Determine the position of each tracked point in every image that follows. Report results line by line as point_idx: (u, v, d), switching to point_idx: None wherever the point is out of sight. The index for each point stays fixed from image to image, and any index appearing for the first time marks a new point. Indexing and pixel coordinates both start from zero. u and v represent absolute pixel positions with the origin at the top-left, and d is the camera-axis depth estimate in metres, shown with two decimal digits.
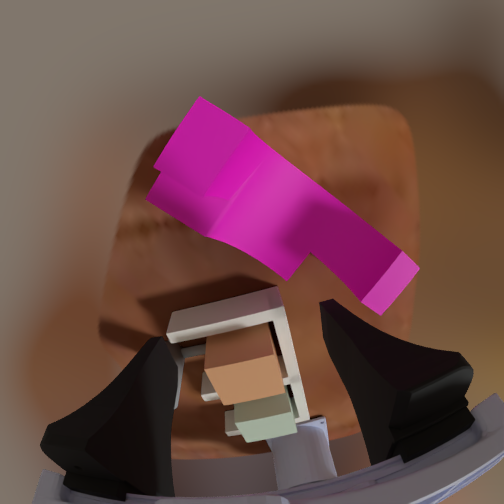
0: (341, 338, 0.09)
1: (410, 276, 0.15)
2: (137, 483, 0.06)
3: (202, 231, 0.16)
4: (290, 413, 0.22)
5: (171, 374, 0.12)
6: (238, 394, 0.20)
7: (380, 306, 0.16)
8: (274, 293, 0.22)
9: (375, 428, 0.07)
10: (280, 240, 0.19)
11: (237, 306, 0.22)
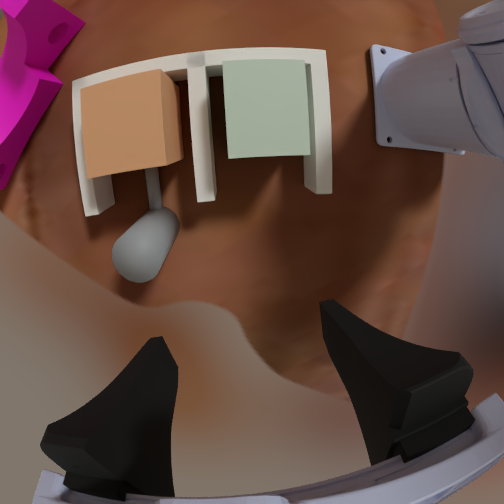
0: (341, 338, 0.09)
1: None
2: (137, 483, 0.06)
3: None
4: (227, 62, 0.11)
5: (171, 374, 0.12)
6: (143, 138, 0.12)
7: None
8: None
9: (375, 428, 0.07)
10: (18, 90, 0.12)
11: None
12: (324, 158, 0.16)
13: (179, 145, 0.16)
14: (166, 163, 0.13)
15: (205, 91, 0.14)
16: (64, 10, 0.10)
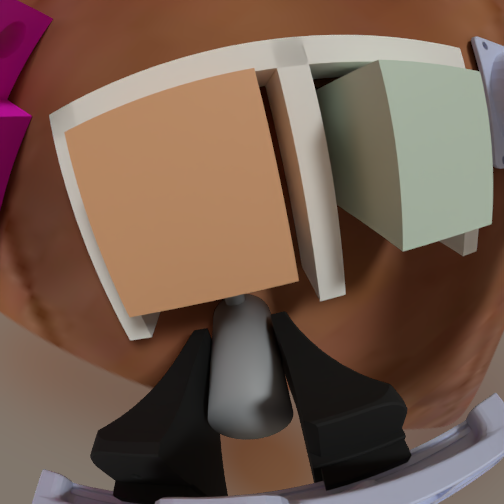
0: (283, 354, 0.10)
1: None
2: (201, 485, 0.06)
3: None
4: (388, 63, 0.05)
5: None
6: (242, 234, 0.06)
7: None
8: None
9: (308, 449, 0.07)
10: None
11: None
12: None
13: None
14: (296, 276, 0.07)
15: (318, 112, 0.08)
16: (13, 1, 0.04)
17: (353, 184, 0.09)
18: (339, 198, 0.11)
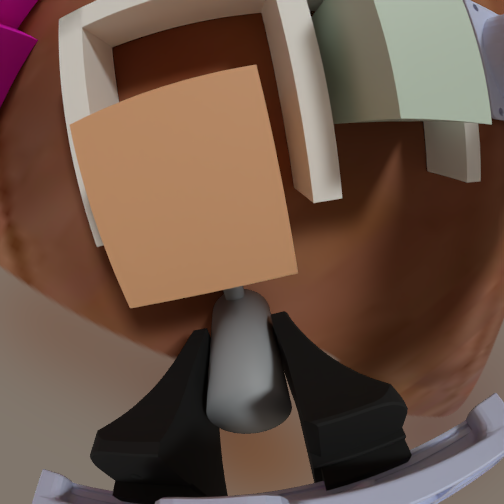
0: (283, 353, 0.10)
1: None
2: (200, 485, 0.06)
3: None
4: None
5: None
6: (242, 225, 0.06)
7: None
8: None
9: (308, 449, 0.07)
10: None
11: None
12: (473, 131, 0.08)
13: None
14: (295, 268, 0.07)
15: (308, 14, 0.07)
16: None
17: (346, 87, 0.08)
18: (333, 114, 0.10)
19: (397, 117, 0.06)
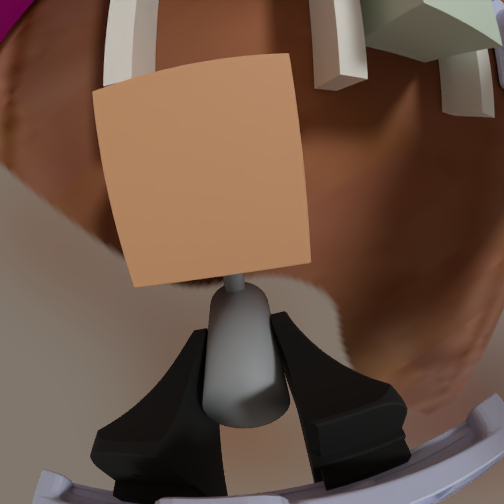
0: (283, 354, 0.10)
1: None
2: (200, 485, 0.06)
3: None
4: None
5: None
6: (261, 209, 0.06)
7: None
8: None
9: (308, 449, 0.07)
10: None
11: None
12: (486, 71, 0.07)
13: None
14: (308, 257, 0.07)
15: None
16: None
17: (373, 3, 0.07)
18: None
19: (420, 3, 0.05)
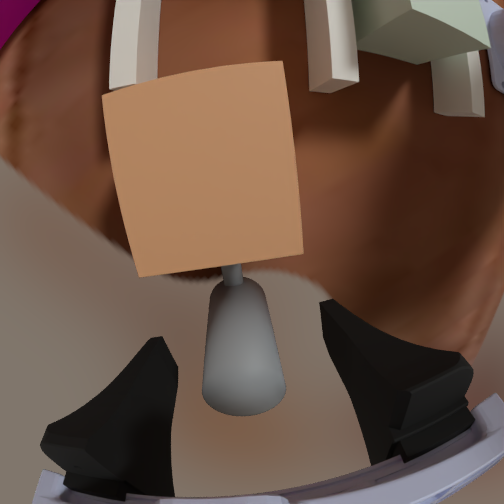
0: (341, 338, 0.09)
1: None
2: (137, 483, 0.06)
3: None
4: None
5: (171, 374, 0.12)
6: (257, 204, 0.07)
7: None
8: None
9: (375, 428, 0.07)
10: None
11: None
12: (476, 72, 0.08)
13: None
14: (301, 249, 0.08)
15: None
16: None
17: (366, 9, 0.07)
18: None
19: (409, 9, 0.05)
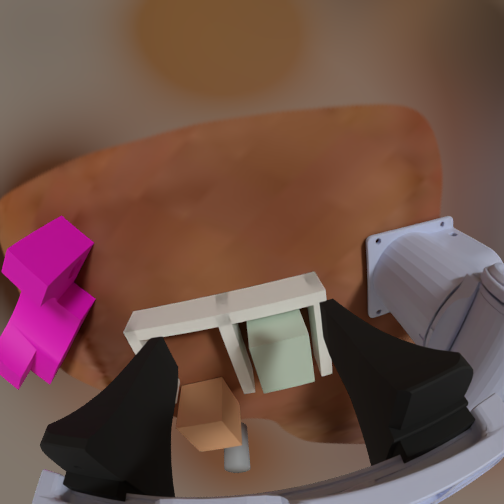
0: (341, 338, 0.09)
1: (13, 258, 0.13)
2: (137, 483, 0.06)
3: (55, 366, 0.20)
4: (253, 348, 0.18)
5: (171, 374, 0.12)
6: (226, 440, 0.22)
7: (40, 287, 0.13)
8: None
9: (375, 428, 0.07)
10: (59, 316, 0.19)
11: None
12: (326, 358, 0.22)
13: (237, 409, 0.26)
14: (241, 444, 0.23)
15: (236, 340, 0.21)
16: (74, 261, 0.17)
17: None
18: None
19: (263, 391, 0.20)
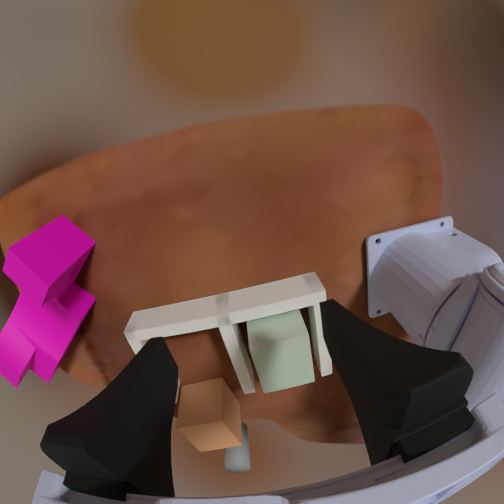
0: (341, 338, 0.09)
1: (15, 258, 0.13)
2: (137, 483, 0.06)
3: (54, 365, 0.20)
4: (253, 348, 0.18)
5: (171, 374, 0.12)
6: (226, 440, 0.22)
7: (41, 287, 0.13)
8: None
9: (375, 428, 0.07)
10: (59, 315, 0.19)
11: None
12: (326, 358, 0.22)
13: (237, 410, 0.26)
14: (241, 444, 0.23)
15: (236, 340, 0.21)
16: (76, 261, 0.17)
17: None
18: None
19: (263, 391, 0.20)
